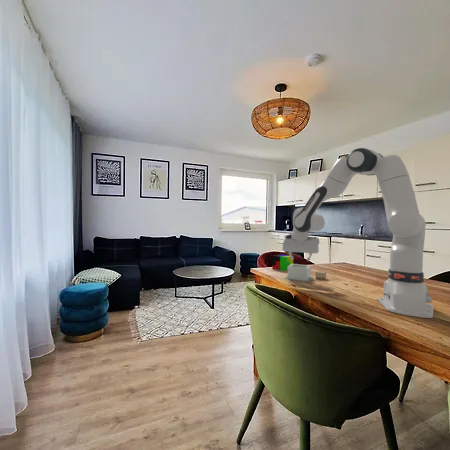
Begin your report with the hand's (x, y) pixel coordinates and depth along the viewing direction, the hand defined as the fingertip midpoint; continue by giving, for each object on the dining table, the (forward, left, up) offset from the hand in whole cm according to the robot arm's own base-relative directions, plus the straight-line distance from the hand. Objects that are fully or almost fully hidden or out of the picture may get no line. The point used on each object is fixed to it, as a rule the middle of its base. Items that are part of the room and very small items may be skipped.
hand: (300, 260), depth 146 cm
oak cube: (+6, -11, -12) cm, 17 cm away
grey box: (0, 0, -11) cm, 11 cm away
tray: (0, 0, -12) cm, 12 cm away
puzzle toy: (+24, +17, -12) cm, 31 cm away
